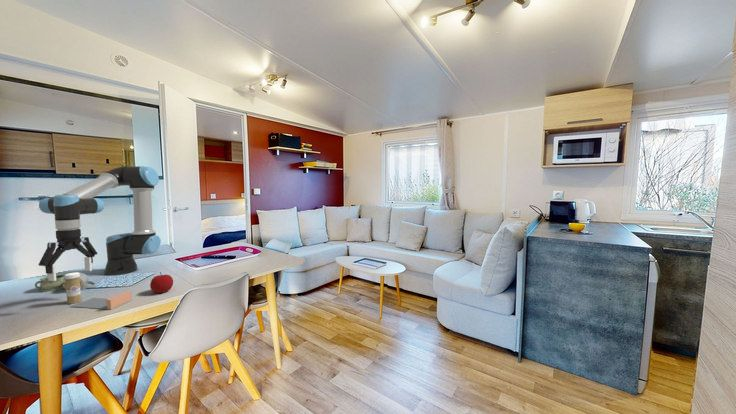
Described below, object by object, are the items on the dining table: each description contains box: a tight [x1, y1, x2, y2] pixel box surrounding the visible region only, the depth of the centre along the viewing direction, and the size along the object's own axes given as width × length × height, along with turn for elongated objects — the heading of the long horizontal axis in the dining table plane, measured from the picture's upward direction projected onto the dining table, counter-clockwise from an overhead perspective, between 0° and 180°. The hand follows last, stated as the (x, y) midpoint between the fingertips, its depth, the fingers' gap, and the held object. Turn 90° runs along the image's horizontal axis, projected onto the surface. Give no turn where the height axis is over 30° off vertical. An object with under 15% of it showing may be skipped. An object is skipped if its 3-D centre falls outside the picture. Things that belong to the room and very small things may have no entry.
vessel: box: [34, 274, 66, 293], centre depth 137 cm, size 12×9×6 cm
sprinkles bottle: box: [64, 271, 82, 305], centre depth 122 cm, size 5×5×13 cm
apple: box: [149, 272, 174, 294], centre depth 136 cm, size 9×9×10 cm
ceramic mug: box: [64, 272, 96, 290], centre depth 138 cm, size 11×8×8 cm
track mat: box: [70, 291, 132, 310], centre depth 121 cm, size 9×20×4 cm, turn 84°
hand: (71, 275), depth 122 cm, fingers open, 13 cm apart
